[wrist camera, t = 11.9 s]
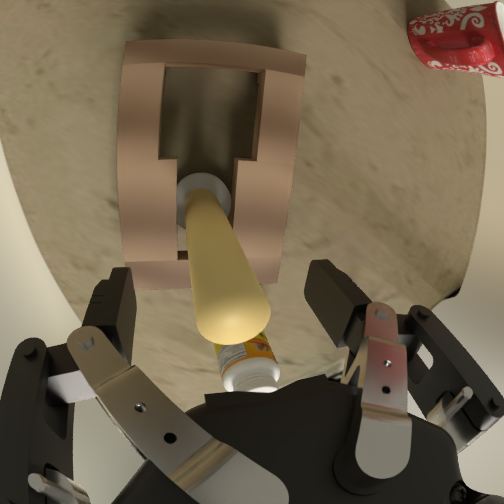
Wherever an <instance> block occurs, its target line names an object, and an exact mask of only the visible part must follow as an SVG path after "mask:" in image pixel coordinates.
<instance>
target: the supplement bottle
mask: <svg viewBox="0 0 504 504" xmlns="http://www.w3.org/2000/svg"><path fill="white" fill-rule="evenodd" d="M214 346H215V351H216V355H217V360H218V364H219V369H220V373H221V377H222V382H223V385H224V387H225V389H226V390H227V391H228V392H231V391H247V392H266V393H269V392H274V391H276V390H278V389H279V388H278V386H277V380H278V378H279V375H280V369H279V366H278V364H277V362H276V359H275V357H274V355H273V352H272V350H271V347H270V345H269V343H268V340H267V338H266V336H265V334H264V331H263V330H262V331H261V332H260V333H259V334H258V335H256V336H255V337H253V338H252V339H250V340H248V341H245V342H242V343H239V344H233V345H223V344H217V343H214Z"/></svg>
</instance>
